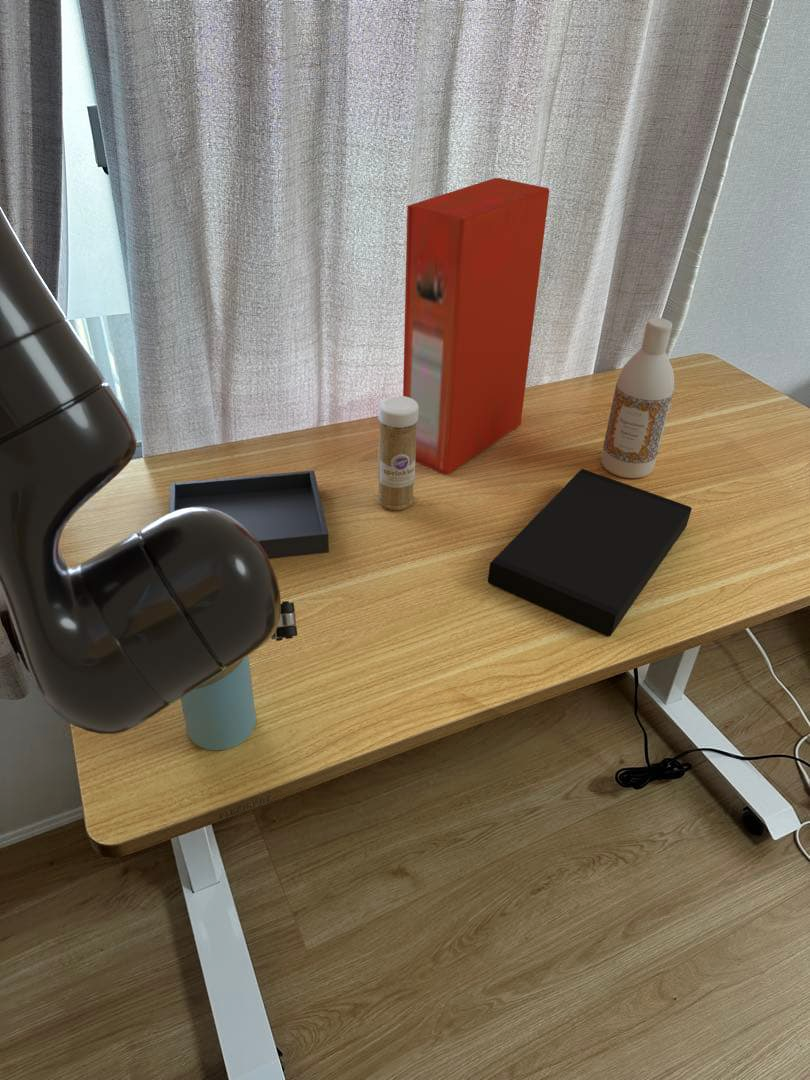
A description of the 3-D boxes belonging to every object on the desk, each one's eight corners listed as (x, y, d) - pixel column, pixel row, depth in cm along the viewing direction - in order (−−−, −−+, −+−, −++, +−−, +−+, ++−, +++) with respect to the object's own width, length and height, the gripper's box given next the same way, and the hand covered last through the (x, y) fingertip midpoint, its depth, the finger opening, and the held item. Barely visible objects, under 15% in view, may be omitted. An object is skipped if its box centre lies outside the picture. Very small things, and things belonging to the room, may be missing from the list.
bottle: (186, 755, 68) (153, 597, 57) (186, 702, 73) (156, 546, 62) (258, 745, 69) (239, 588, 58) (253, 692, 74) (235, 538, 63)
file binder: (399, 454, 108) (407, 204, 88) (473, 408, 119) (495, 176, 99) (448, 476, 104) (467, 219, 84) (520, 426, 115) (552, 188, 95)
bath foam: (592, 470, 106) (622, 325, 94) (609, 447, 111) (639, 306, 99) (644, 485, 103) (681, 338, 91) (659, 461, 108) (696, 319, 96)
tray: (171, 569, 87) (168, 550, 86) (173, 500, 98) (170, 482, 96) (329, 552, 91) (328, 533, 89) (314, 487, 101) (314, 470, 99)
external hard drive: (487, 582, 87) (490, 561, 85) (577, 487, 103) (581, 467, 101) (610, 637, 81) (616, 615, 79) (686, 527, 96) (692, 507, 95)
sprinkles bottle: (387, 515, 97) (389, 416, 88) (370, 496, 100) (371, 398, 91) (420, 506, 98) (426, 408, 90) (403, 487, 101) (407, 390, 93)
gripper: (299, 556, 52) (291, 579, 68) (64, 581, 49) (114, 598, 66) (312, 672, 51) (300, 667, 68) (74, 704, 49) (122, 691, 65)
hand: (208, 633), depth 67 cm, fingers closed on bottle, 6 cm apart
